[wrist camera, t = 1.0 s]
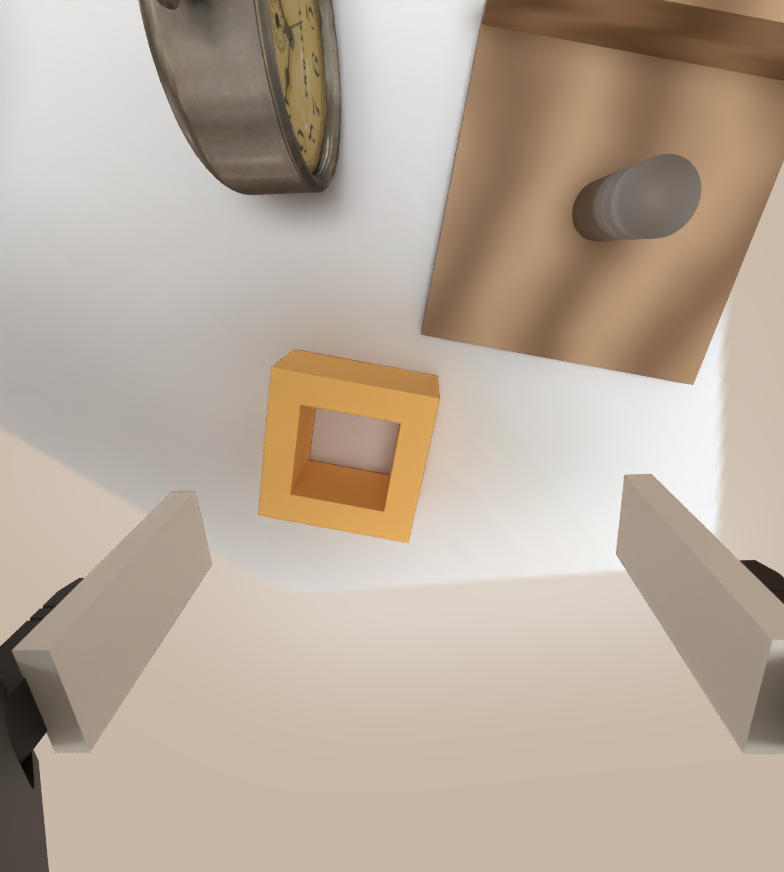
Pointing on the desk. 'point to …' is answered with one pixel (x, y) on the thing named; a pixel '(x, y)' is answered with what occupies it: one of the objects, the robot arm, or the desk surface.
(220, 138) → the alarm clock
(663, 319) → the hook board
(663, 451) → the desk surface
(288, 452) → the orange square frame
